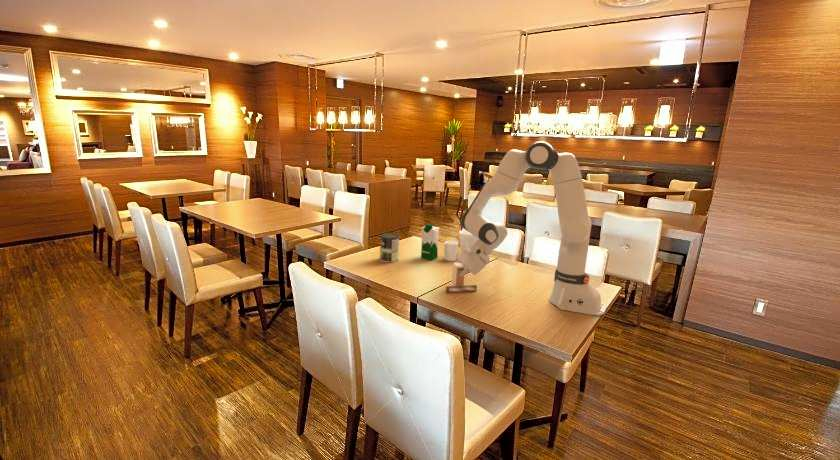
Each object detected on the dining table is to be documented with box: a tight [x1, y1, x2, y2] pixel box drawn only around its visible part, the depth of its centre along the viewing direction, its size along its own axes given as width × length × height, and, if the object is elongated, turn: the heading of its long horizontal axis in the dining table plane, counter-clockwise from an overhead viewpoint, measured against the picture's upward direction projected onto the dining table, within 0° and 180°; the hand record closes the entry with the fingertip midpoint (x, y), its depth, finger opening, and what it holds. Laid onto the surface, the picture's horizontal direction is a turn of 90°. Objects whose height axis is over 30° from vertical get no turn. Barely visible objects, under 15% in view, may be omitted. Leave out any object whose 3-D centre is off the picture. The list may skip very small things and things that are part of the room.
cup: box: [458, 229, 478, 252], centre depth 228 cm, size 12×12×14 cm
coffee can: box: [379, 232, 400, 263], centre depth 213 cm, size 10×10×14 cm
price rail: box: [445, 284, 478, 294], centre depth 173 cm, size 14×2×2 cm, turn 104°
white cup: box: [443, 240, 459, 262], centre depth 218 cm, size 8×8×10 cm
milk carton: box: [420, 223, 440, 261], centre depth 218 cm, size 9×9×20 cm
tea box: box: [451, 262, 466, 286], centre depth 177 cm, size 5×4×10 cm
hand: (457, 273), depth 177 cm, fingers closed on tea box, 5 cm apart
